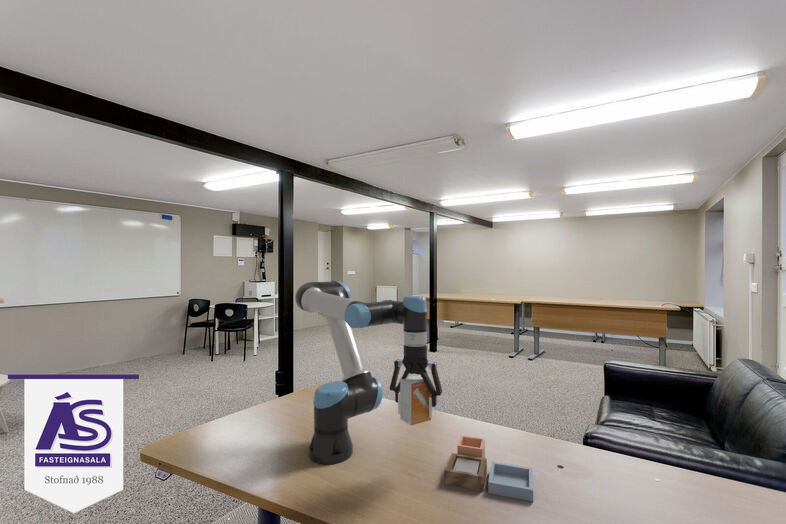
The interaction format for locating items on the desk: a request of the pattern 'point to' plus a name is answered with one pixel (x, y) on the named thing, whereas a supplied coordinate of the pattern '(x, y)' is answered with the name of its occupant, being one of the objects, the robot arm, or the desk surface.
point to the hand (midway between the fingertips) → (415, 414)
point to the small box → (414, 400)
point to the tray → (511, 481)
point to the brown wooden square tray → (466, 473)
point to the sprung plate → (467, 466)
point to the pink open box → (471, 446)
